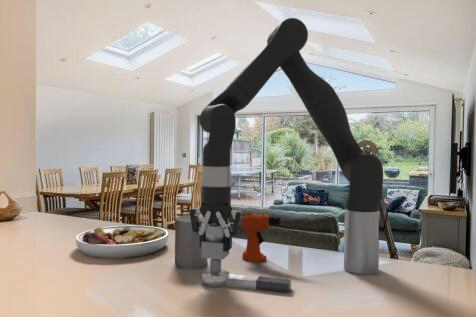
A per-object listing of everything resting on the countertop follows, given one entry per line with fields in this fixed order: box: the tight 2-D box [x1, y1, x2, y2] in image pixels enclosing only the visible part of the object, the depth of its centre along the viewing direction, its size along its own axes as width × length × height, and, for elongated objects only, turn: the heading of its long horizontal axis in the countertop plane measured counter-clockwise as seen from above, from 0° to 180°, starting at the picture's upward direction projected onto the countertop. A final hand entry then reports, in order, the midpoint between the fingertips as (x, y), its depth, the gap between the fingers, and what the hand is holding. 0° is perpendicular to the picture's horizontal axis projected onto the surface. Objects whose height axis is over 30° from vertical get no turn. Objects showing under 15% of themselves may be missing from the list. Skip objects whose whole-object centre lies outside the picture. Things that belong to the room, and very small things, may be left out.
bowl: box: [75, 224, 169, 259], centre depth 133 cm, size 30×30×8 cm
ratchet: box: [201, 259, 292, 294], centre depth 98 cm, size 22×7×6 cm, turn 74°
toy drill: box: [240, 211, 297, 263], centre depth 118 cm, size 5×19×15 cm, turn 61°
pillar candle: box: [174, 214, 208, 270], centre depth 115 cm, size 10×10×15 cm
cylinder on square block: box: [201, 224, 230, 261], centre depth 100 cm, size 6×6×8 cm
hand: (215, 249), depth 100 cm, fingers closed on cylinder on square block, 5 cm apart
